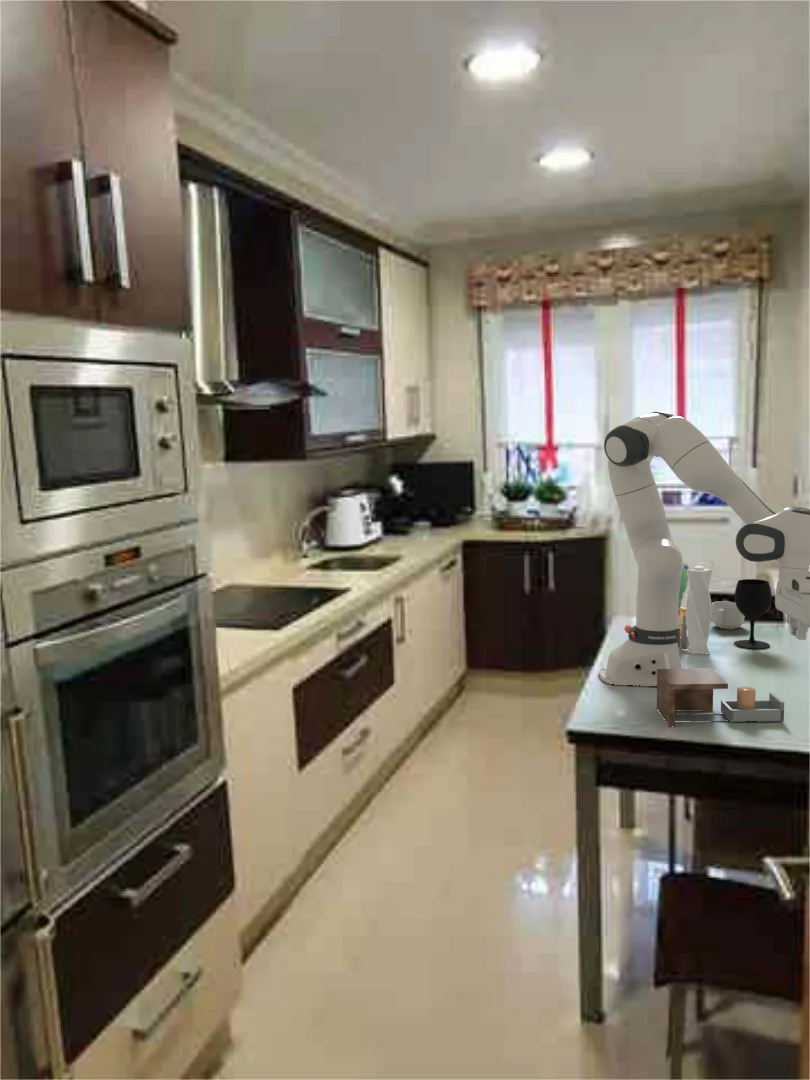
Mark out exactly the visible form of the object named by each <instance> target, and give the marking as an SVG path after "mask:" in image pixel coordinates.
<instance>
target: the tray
mask: <svg viewBox="0 0 810 1080" xmlns="http://www.w3.org/2000/svg"><path fill="white" fill-rule="evenodd" d="M768 694H769V695H768V697H769V698H768V699H755V709H737V699H736V700H735V699H734V700H733V699H731V700H730V699H729V700H727V699H726V700H724V699H723V700H722V699H721V700H720V713H723V714H722V715H724V716H725V718H727V719H726V720H729V721H730V722H729V723H731V722H732V723H739V722H740V723H744V722H745V723H747V722H746V721H765V722H784V720H785V701H784V700H782V699H781V698H780V697H779V696H778V695H777V694H775V693H774V692H769V693H768Z"/></svg>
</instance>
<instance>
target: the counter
mask: <svg viewBox="0 0 810 1080" xmlns="http://www.w3.org/2000/svg"><path fill="white" fill-rule="evenodd" d="M723 689H724V690H728V689H729V683H728V682H727V681H726V680H725V679H724V678H723V677H722V676H720V674H719V673H718V672H717V671H715V669H714V668H712V667H709V668H708V667H707V668H705V667H703V668H702V667H701V668H698V667H697V668H682V669H657V687H656V710H657V709H658V710H659V712H660V713H661V715H662V716H663V718H664V719H665V721H666V722H667V723H666V722H665V721H664V722H665V723H666V725H667V724H668V725H667V726H668V728H675V727H676V726H675V723H676V722H675V721H676V715H675V713H676V711H675V710H714V690H723ZM659 712H658V713H659ZM660 713H659V714H660ZM661 715H660V716H661ZM662 716H661V717H662ZM663 718H662V719H663ZM664 719H663V720H664ZM717 720H718V721H719V720H720V719H717ZM725 720H726V719H723V721H725ZM727 720H728V719H727ZM728 721H729V720H728ZM757 722H766V721H757ZM672 726H673V727H672Z"/></svg>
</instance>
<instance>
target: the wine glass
mask: <svg viewBox="0 0 810 1080" xmlns="http://www.w3.org/2000/svg"><path fill="white" fill-rule="evenodd" d="M734 603H736V606H737V608H738V610H739V611H740V612H741V613H742V614H743V615H744V616H745V618H746V619H748V620H749V625H750V628H749V629H750V630H749V631H750V634H749V638H748V639H742V640H741V639H740V640H736V641H734V642H733V646H735V645H736V646H738V647H737V648H739V647H741V648H740V649H743V648H747V649H746V650H750V649H763V650H767V649H766V648H768V649H769V648H771V645H770V644H769V643H768V642H766V641H762V640H756V639H755V633H754V632H755V624H756V623H755V622H756V620H758V619H759V618H761V617H762V616H763V615H765V614H766V613H767V612H768V610H769V609H770V607H771V603H772V591H771V586H770V582H769V581H767V580H763V579H759V578H758V579H753V578H746V579H745V578H744V579H739V580H737V583H736V587H735V590H734ZM736 646H735V647H736Z"/></svg>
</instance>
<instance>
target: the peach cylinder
mask: <svg viewBox="0 0 810 1080" xmlns="http://www.w3.org/2000/svg"><path fill="white" fill-rule="evenodd" d="M756 691H757V689H755V687H754V688H753V687H750V686H739V687H737V688H736V700H737V709H755V700H756V694H757V693H756Z"/></svg>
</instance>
